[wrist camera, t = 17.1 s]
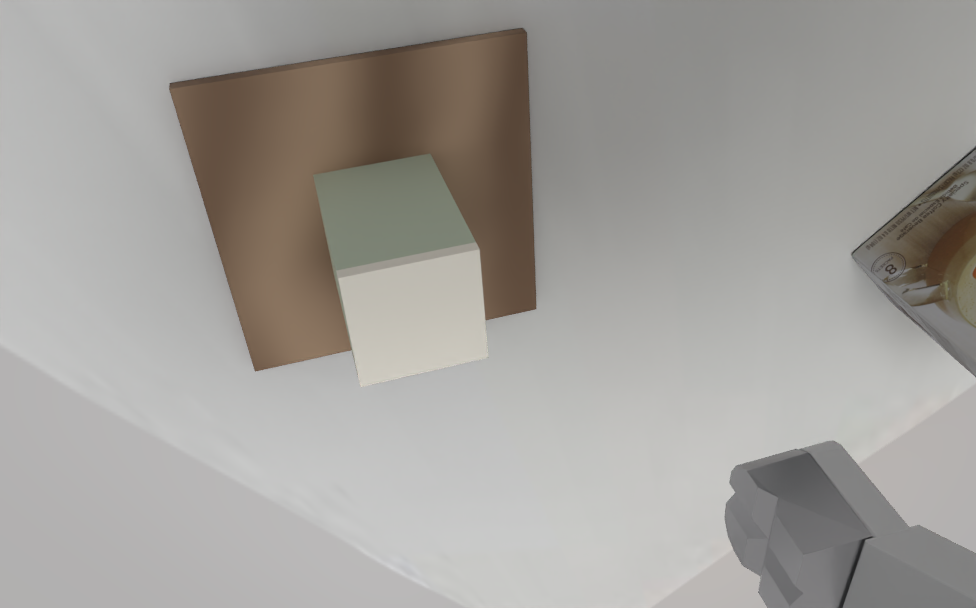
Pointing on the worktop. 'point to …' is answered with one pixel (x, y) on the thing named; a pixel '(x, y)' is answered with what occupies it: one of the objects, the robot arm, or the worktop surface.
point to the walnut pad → (352, 143)
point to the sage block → (403, 268)
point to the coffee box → (933, 262)
